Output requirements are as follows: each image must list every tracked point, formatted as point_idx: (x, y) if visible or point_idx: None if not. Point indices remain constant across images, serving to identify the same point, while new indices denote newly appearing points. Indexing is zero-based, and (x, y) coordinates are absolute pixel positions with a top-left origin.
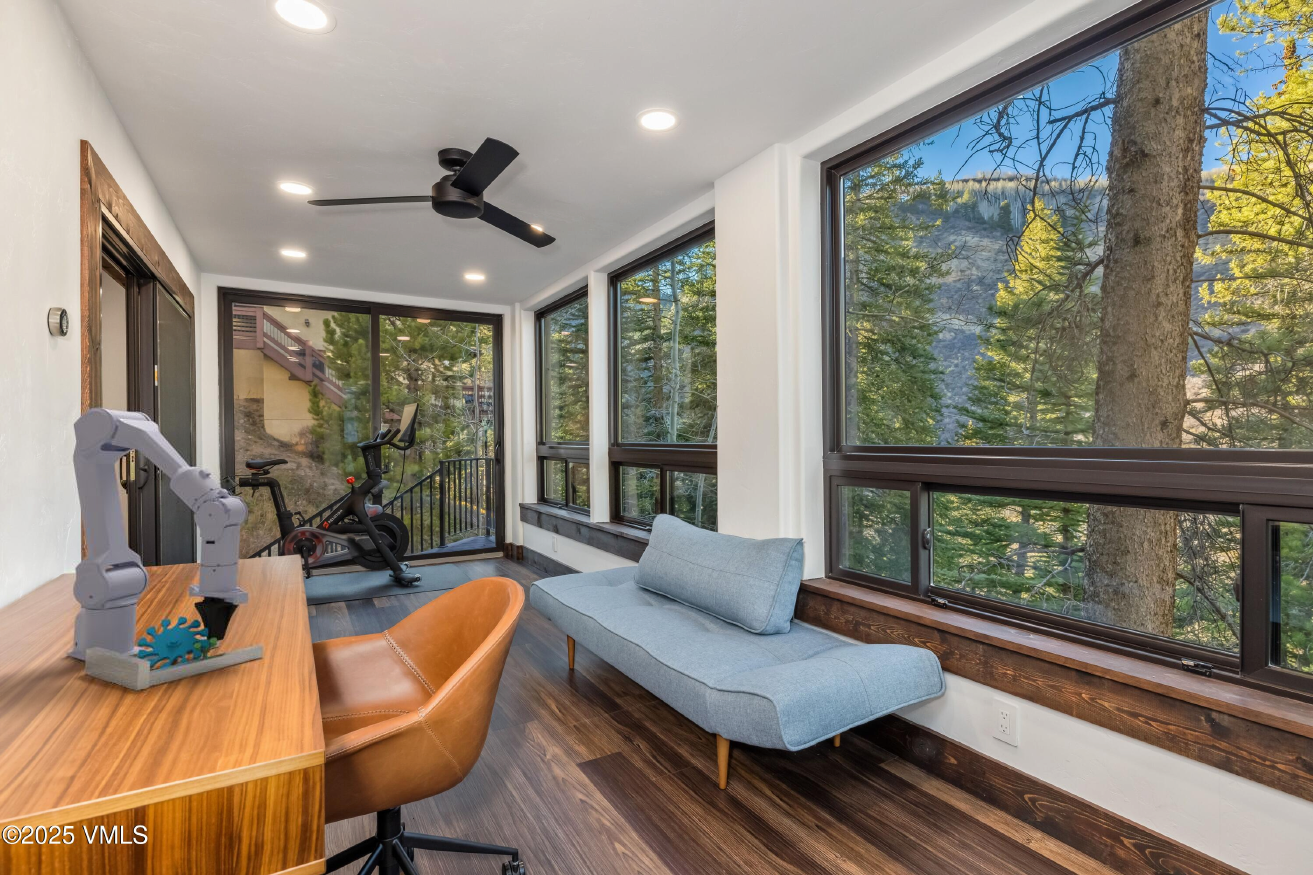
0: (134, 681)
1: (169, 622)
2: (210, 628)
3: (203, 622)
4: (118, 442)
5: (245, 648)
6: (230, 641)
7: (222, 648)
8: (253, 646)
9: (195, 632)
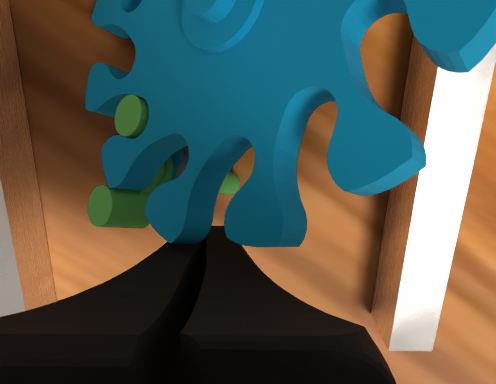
0: None
1: (417, 33)
2: (155, 253)
3: (250, 269)
4: None
5: (7, 282)
6: (401, 378)
7: (324, 306)
8: None
9: (191, 156)
